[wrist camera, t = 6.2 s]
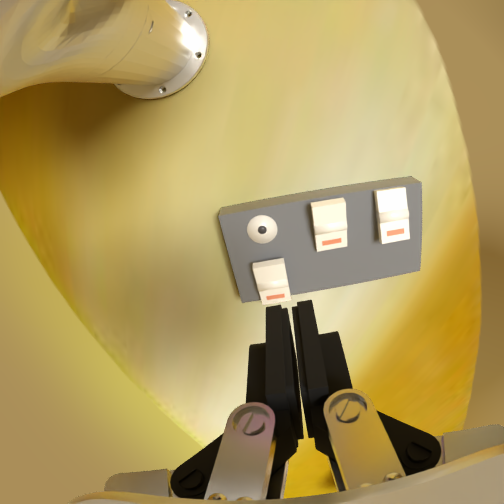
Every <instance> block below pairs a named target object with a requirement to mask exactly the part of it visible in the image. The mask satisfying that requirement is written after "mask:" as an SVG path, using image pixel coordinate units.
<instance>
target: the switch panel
mask: <svg viewBox="0 0 504 504" xmlns="http://www.w3.org/2000/svg"><path fill="white" fill-rule="evenodd" d="M395 187H405V188H406V197H407V207H408V211H409V233H410V239H407V240H401V241H396V242H390V243H385V244H381V243H380V242H379V232H378V222H377V218H376V204H375V196H374V190H381V189H388V188H395ZM337 198H344V200H345V202H346V219H347V247H341V248H335V249H330V250H324V251H318V252H317V249H316V245H315V236H314V228H313V219H312V211H311V203H312V202H318V201H324V200H330V199H337ZM218 217H219V221H220V225H221V228H222V232H223V236H224V240H225V243H226V247H227V251H228V254H229V258H230V261H231V265H232V269H233V272H234V276H235V280H236V283H237V287H238V290H239V294H240V297H241V301H242V303H245V302H251V301H258V300H261V297H260V293H259V291H258V288H257V283H256V279H255V276H254V272H253V263H257V262H262V261H268V260H274V259H280V258H284V262H285V268H286V273H287V278H288V283H289V289H290V294H291V295H295V294H301V293H307V292H313V291H319V290H324V289H330V288H336V287H341V286H346V285H352V284H357V283H362V282H367V281H372V280H377V279H382V278H387V277H392V276H397V275H402V274H407V273H411V272H416V271H420V264H421V245H422V182H420V181H418V180H417V179H415V178H413V177H412V176H410V177H402V178H394V179H387V180H379V181H372V182H365V183H359V184H352V185H345V186H339V187H333V188H326V189H320V190H314V191H308V192H302V193H296V194H291V195H285V196H279V197H274V198H268V199H263V200H258V201H252V202H247V203H242V204H237V205H232V206H227V207H222V208H221V210H220V213H219V215H218Z"/></svg>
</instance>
